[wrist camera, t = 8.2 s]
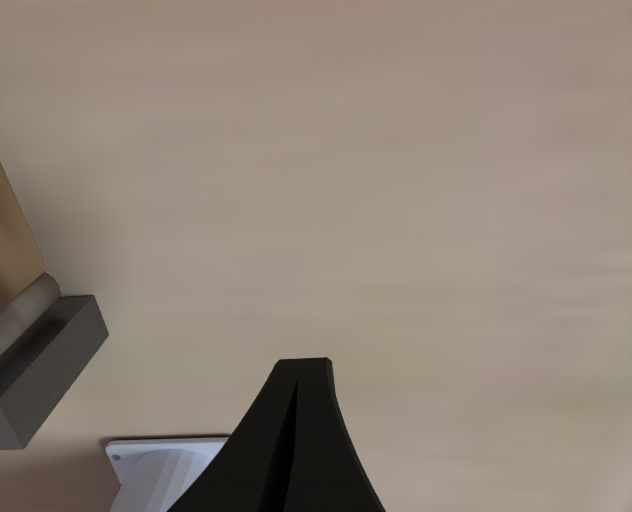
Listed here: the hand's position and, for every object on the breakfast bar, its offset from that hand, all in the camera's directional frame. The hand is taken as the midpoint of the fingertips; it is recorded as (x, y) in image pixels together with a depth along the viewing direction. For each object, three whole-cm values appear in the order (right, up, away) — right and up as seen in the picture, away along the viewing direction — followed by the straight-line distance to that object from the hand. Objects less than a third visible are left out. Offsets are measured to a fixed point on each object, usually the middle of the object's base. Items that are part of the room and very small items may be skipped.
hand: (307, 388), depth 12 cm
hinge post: (-12, 0, +11) cm, 16 cm away
